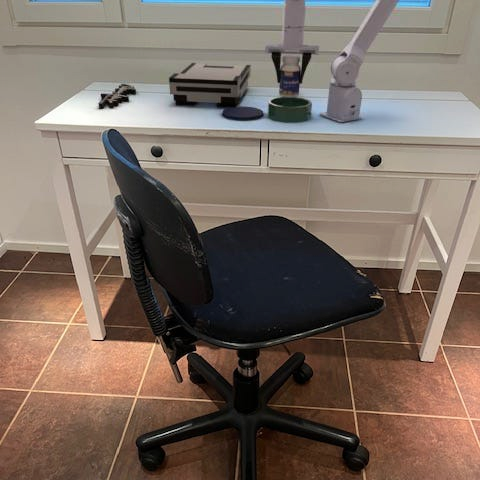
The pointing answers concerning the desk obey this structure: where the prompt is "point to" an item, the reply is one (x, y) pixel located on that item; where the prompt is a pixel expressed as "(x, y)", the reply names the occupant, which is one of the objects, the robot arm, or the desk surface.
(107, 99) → the dark jagged flat part
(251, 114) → the navy blue disc
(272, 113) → the ring
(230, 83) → the game console
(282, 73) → the pill bottle
